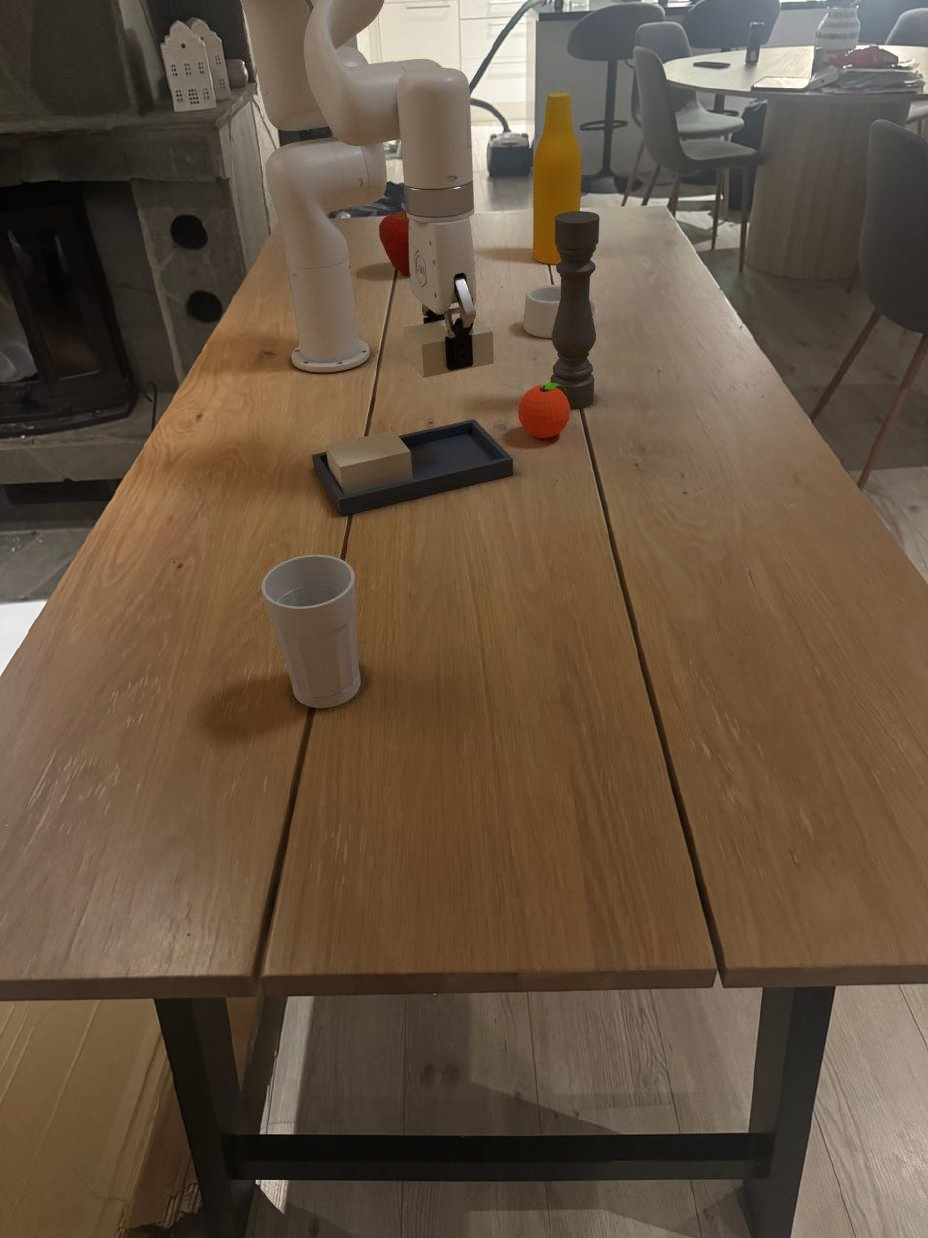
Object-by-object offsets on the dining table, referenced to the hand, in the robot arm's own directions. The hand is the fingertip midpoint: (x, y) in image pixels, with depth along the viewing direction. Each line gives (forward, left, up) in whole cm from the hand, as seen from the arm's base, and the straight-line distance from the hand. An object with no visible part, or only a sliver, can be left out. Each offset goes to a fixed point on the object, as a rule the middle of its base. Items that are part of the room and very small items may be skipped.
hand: (448, 356), depth 112 cm
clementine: (-1, +14, -14) cm, 20 cm away
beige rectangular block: (0, 0, -1) cm, 1 cm away
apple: (-76, +21, -14) cm, 80 cm away
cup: (+36, -27, -14) cm, 47 cm away
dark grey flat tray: (+1, -6, -14) cm, 15 cm away
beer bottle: (-70, +50, -14) cm, 87 cm away
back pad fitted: (+1, -12, -13) cm, 18 cm away
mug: (-35, +33, -14) cm, 50 cm away
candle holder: (-9, +22, -14) cm, 28 cm away
